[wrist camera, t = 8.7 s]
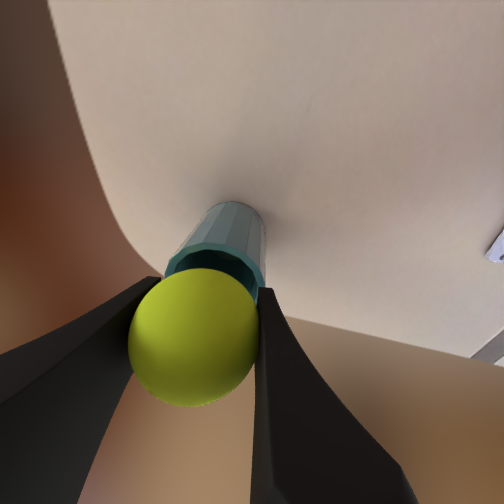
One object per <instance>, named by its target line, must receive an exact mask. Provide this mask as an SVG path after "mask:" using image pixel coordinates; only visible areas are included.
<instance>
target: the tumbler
mask: <svg viewBox="0 0 504 504" xmlns="http://www.w3.org/2000/svg"><path fill="white" fill-rule="evenodd" d="M198 268H201V269H212V270H217V271H220V272H223V273H225V274H227V275H229V276H231V277H233V278H234V279H236V280H237V281H238V282H239V283H241V284H242V285H243V286H244V287H245V288H246V290H247V291H248V292H249V294H250V295H251V296H252V298H253V300H254V302H255V304H256V305H257V297H258V289H259V287H265V285H266V279H265V230H264V225H263V222H262V220H261V218H260V217H259V215H258V214H257V213H256V212H255V211H254V210H253V209H252V208H250V207H248V206H247V205H244V204H242V203H238V202H223V203H220V204H217V205H215V206H213V207H212V208H211V209H209V211H208V212H207V213H206V214H205V215H204V216H203V217H202V218H201V220H200V221H199V222H198V223H197V225H196V226H195V227H194V229H193V230H192V231H191V233H190V234H189V235H188V236H187V238H186V239H185V240H184V242H183V243H182V244H181V246H180V247H179V248H178V249H177V251H176V252H175V253H174V255H173V256H172V257H171V259H170V260H169V263H168V266H167V268H166V271H165V278H167V277H169V276H171V275H173V274H175V273H178V272H181V271H185V270H189V269H198Z"/></svg>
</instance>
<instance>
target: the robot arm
mask: <svg viewBox="0 0 504 504" xmlns="http://www.w3.org/2000/svg"><path fill="white" fill-rule="evenodd" d="M485 258H486V259H488V260H489V261H492V262H502V263H504V230H503V231H502V233H501V234H500V235H499V237H498V238H497V240H496V241H495V242H494V244H493V245H492V246H491V248H490V249H489V251H488V252H487V253H486V255H485ZM159 282H161V277H151V276H148V277H146V278H144V279H142V280H141V281H139V282H137V283H136V284H134V285H132V286H131V287H129V288H128V289H126V290H125V291H123V292H121V293H120V294H118V295H116V296H115V297H114V298H111V299H110V300H108V301H107V302H105V303H104V304H102V305H100V306H98V307H96V308H95V309H93V310H91V311H89V312H88V313H86V314H84V315H82V316H80V317H79V318H77V319H75V320H73V321H71V322H70V323H68V324H66V325H64V326H62V327H60V328H58V329H56V330H54V331H52V332H50V333H48V334H46V335H44V336H41V337H39V338H37V339H35V340H33V341H31V342H28V343H26V344H24V345H21V346H19V347H17V348H15V349H12V350H10V351H8V352H5V353H3V354H1V355H0V504H77V502H78V499H79V497H80V494H81V491H82V489H83V486H84V483H85V481H86V478H87V476H88V473H89V471H90V468H91V466H92V463H93V461H94V458H95V456H96V453H97V451H98V448H99V446H100V443H101V441H102V439H103V436H104V434H105V432H106V429H107V427H108V425H109V423H110V420H111V418H112V416H113V413H114V411H115V409H116V407H117V405H118V402H119V400H120V398H121V396H122V394H123V391H124V389H125V387H126V385H127V383H128V381H129V379H130V378H131V376H132V374H133V372H134V371H133V369H132V366H131V362H130V359H129V352H128V335H129V329H130V325H131V321H132V319H133V316H134V314H135V312H136V310H137V308H138V306H139V304H140V303H141V301H142V300H143V298H144V297H145V296H146V295H147V294H148V292H149V291H150V290H151V289H152V288H153V287H154V286H156V285H157V284H158V283H159ZM256 306H257V309H258V314H259V348H258V353H257V357H256V359H255V361H254V364H255V415H254V436H253V456H252V474H251V494H250V504H419V503H418V501H417V499H416V496H415V494H414V492H413V490H412V488H411V486H410V484H409V482H408V480H407V478H406V476H405V474H404V472H403V470H402V468H401V466H400V465H399V464H398V463H397V462H396V461H395V460H394V459H393V458H392V457H391V456H390V455H389V454H388V453H387V452H386V451H385V450H384V449H383V447H382V446H381V445H380V444H379V443H378V442H377V441H376V440H375V439H374V438H373V437H372V436H371V435H370V434H369V432H368V431H367V430H366V429H365V428H364V427H363V426H362V425H361V424H360V423H359V421H358V420H357V419H356V418H355V417H354V416H353V415H352V413H351V412H350V411H349V410H348V409H347V408H346V407H345V405H344V404H343V403H342V402H341V400H340V399H339V398H338V397H337V395H336V394H335V393H334V392H333V391H332V389H331V388H330V387H329V386H328V384H327V383H326V382H325V381H324V379H323V378H322V377H321V375H320V374H319V372H318V371H317V370H316V369H315V367H314V366H313V364H312V363H311V361H310V360H309V358H308V357H307V355H306V354H305V352H304V351H303V349H302V348H301V346H300V344H299V343H298V341H297V339H296V338H295V336H294V334H293V333H292V331H291V329H290V327H289V325H288V323H287V321H286V319H285V317H284V315H283V313H282V311H281V309H280V306H279V304H278V302H277V299H276V297H275V294H274V290H273V289H272V288H266V287H259V289H258V297H257V305H256Z"/></svg>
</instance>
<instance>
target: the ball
mask: <svg viewBox="0 0 504 504" xmlns="http://www.w3.org/2000/svg"><path fill="white" fill-rule="evenodd" d="M258 348H259V314H258V309H257V306H256V304H255V302H254V300H253V298H252V296H251V295H250V294H249V292H248V291H247V290H246V288H245V287H244V286H243V285H242V284H241V283H239V282H238V281H237V280H236V279H234V278H233V277H231V276H229V275H227V274H225V273H223V272H220V271H217V270H212V269H201V268H198V269H189V270H185V271H181V272H178V273H175V274H173V275H171V276H169V277H167V278H165V279H164V280H162V281H161V282H159V283H158V284H157V285H156V286H154V287H153V288H152V289H151V290H150V291H149V292H148V294H147V295H146V296H145V297H144V298H143V300H142V301H141V303H140V304H139V306H138V308H137V310H136V312H135V314H134V316H133V319H132V321H131V325H130V329H129V335H128V352H129V359H130V362H131V366H132V369H133V371H134V373H135V375H136V377H137V379H138V380H139V382H140V383H141V384H142V385H143V387H144V388H145V389H146V390H147V391H148V392H149V393H150V394H152V395H153V396H155V397H156V398H158V399H159V400H161V401H163V402H166V403H168V404H171V405H175V406H183V407H191V406H192V407H193V406H201V405H206V404H208V403H211V402H214V401H216V400H218V399H220V398H222V397H224V396H225V395H227V394H228V393H230V392H231V391H232V390H233V389H235V388H236V387H237V386H238V385H239V384H240V383H241V382H242V381H243V379H244V378H245V377H246V376H247V374H248V373H249V371H250V369H251V368H252V366H253V364H254V361H255V359H256V357H257V353H258Z"/></svg>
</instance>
